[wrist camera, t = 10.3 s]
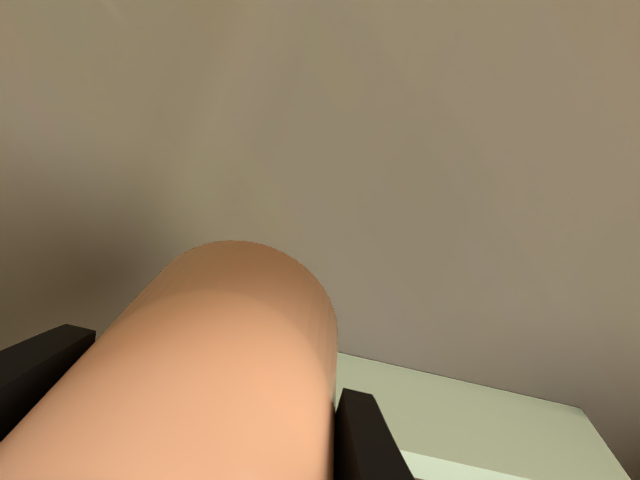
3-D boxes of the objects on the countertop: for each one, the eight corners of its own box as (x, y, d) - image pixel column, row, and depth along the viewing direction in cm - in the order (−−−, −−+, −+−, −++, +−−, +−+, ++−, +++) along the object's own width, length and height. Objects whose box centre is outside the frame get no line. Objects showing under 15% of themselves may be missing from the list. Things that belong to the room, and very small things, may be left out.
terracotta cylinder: (359, 267, 11) (379, 533, 5) (313, 430, 13) (280, 795, 6) (154, 219, 11) (-117, 425, 5) (134, 390, 13) (-87, 722, 6)
